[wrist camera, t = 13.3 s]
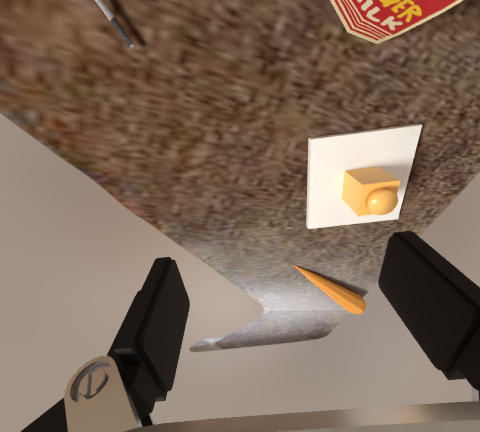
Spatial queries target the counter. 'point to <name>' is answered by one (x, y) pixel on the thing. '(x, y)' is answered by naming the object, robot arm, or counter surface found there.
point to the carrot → (337, 293)
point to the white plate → (355, 157)
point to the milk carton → (387, 16)
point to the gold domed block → (370, 191)
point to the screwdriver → (114, 22)
